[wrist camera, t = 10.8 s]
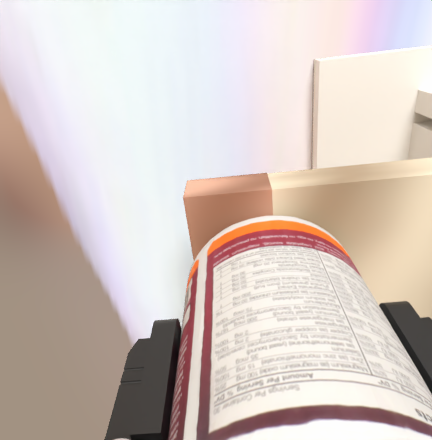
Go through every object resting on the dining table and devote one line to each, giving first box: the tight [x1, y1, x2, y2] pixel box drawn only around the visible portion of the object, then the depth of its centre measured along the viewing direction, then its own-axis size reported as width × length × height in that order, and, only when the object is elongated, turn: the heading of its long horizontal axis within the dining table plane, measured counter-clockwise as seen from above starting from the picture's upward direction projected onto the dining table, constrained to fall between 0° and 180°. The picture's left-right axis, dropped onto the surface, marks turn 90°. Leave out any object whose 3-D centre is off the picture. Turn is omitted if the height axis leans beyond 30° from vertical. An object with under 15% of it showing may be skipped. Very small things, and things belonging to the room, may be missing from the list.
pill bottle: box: [168, 216, 432, 440], centre depth 9 cm, size 6×6×11 cm
